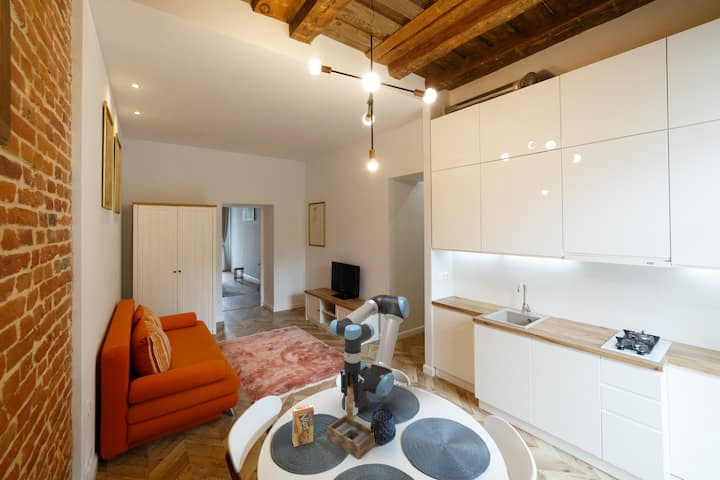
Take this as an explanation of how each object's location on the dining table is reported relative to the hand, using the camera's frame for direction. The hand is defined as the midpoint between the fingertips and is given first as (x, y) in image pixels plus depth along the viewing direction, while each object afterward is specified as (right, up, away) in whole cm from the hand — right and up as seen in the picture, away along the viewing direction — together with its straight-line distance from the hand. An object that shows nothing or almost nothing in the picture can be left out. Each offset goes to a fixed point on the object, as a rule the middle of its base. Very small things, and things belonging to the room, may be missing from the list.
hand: (351, 411), depth 135 cm
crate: (0, -14, 0) cm, 14 cm away
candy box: (-22, -14, -1) cm, 26 cm away
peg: (0, -3, 0) cm, 3 cm away
